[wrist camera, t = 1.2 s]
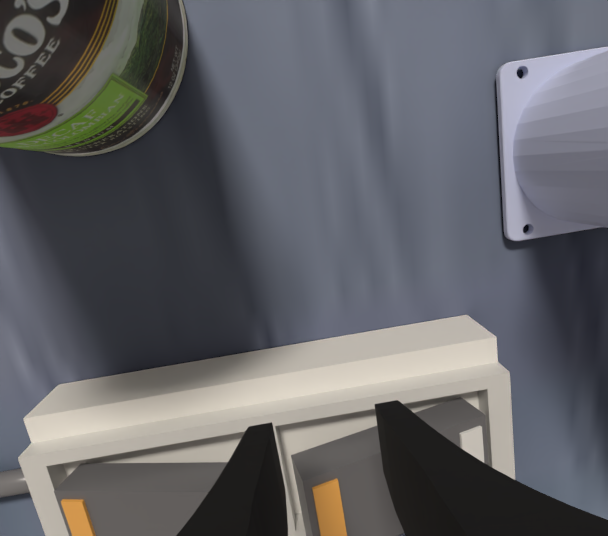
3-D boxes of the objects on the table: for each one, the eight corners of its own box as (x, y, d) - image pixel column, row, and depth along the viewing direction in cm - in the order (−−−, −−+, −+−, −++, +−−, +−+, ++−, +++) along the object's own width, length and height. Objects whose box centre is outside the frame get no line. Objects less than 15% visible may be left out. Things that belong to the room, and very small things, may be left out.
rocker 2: (460, 396, 19) (487, 416, 17) (466, 472, 20) (492, 497, 18) (290, 455, 17) (303, 483, 15) (306, 536, 18) (319, 571, 16)
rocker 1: (252, 461, 17) (238, 495, 15) (269, 543, 18) (258, 582, 16) (80, 463, 19) (51, 493, 17) (104, 537, 19) (79, 572, 18)
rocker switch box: (466, 314, 21) (508, 346, 18) (477, 465, 23) (517, 524, 20) (-63, 405, 21) (-141, 458, 17) (-4, 552, 23) (-62, 629, 19)
